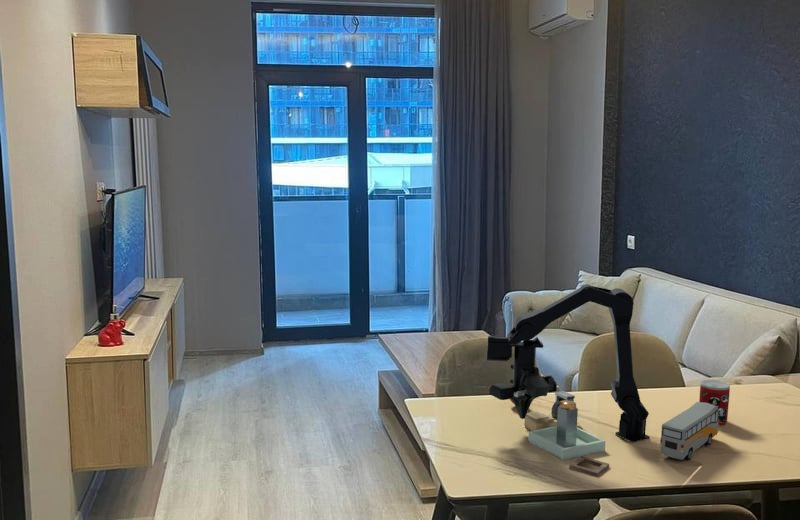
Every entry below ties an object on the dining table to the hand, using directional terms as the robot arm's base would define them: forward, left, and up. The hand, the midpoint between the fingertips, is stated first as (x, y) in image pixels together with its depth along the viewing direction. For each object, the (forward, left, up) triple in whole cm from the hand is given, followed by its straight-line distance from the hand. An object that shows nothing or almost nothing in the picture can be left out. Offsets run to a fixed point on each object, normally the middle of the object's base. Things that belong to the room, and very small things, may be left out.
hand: (522, 418), depth 196 cm
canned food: (-54, +17, -4) cm, 57 cm away
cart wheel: (-14, 0, -4) cm, 15 cm away
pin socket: (+1, +27, -4) cm, 27 cm away
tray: (-3, +14, -4) cm, 15 cm away
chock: (-7, 0, -4) cm, 8 cm away
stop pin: (-3, +14, -3) cm, 15 cm away
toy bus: (-32, +29, -4) cm, 43 cm away
